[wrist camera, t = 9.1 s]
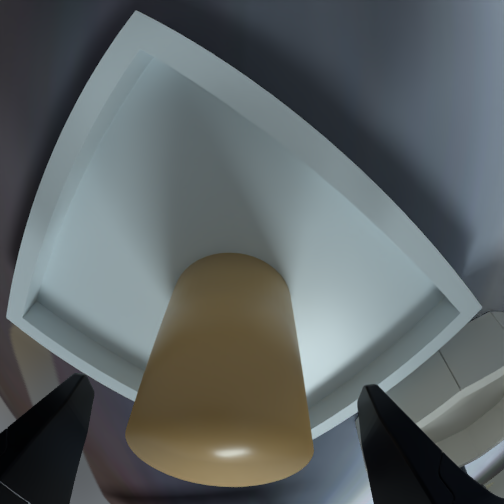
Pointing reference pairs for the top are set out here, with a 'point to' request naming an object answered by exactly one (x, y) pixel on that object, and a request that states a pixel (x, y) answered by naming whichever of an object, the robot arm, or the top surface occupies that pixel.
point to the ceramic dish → (459, 391)
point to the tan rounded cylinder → (224, 379)
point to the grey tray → (221, 227)
